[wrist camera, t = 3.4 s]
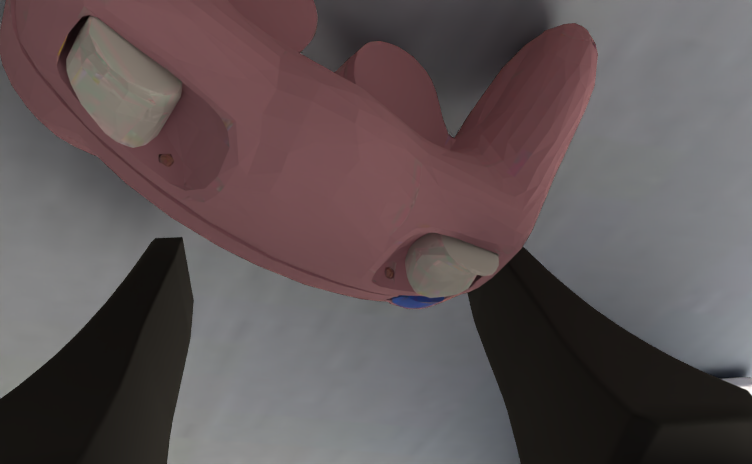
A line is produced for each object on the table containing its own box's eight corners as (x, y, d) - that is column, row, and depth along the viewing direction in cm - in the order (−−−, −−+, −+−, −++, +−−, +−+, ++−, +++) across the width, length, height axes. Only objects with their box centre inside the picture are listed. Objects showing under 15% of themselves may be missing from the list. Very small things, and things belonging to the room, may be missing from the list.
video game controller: (101, -132, 12) (-102, 149, 8) (190, -382, 8) (-89, -91, 5) (464, 125, 16) (435, 376, 13) (615, 30, 13) (633, 334, 9)
